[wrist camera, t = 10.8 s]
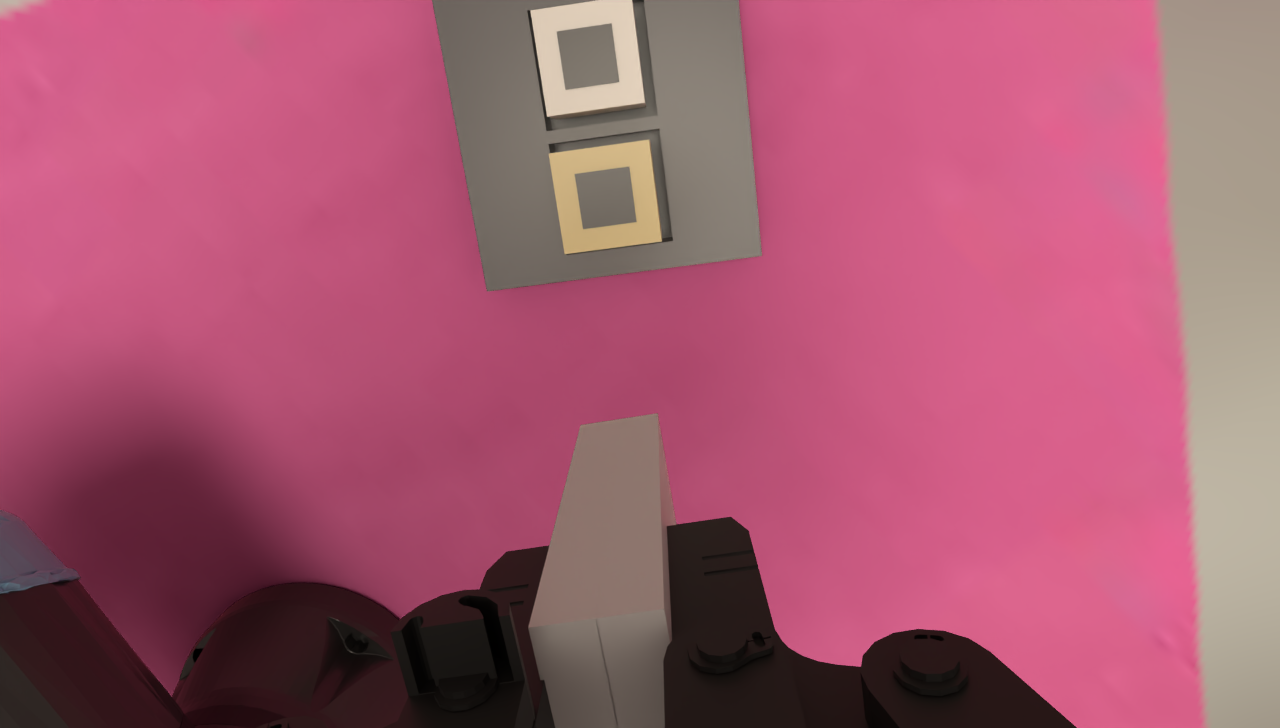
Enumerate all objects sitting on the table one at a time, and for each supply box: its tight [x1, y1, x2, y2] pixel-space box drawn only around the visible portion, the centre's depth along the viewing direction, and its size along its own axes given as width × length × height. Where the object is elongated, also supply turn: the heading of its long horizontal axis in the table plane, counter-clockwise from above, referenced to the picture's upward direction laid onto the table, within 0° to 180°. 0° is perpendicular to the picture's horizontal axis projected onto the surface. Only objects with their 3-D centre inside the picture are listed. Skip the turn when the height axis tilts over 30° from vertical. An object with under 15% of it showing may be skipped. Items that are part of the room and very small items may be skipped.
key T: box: [530, 0, 646, 120], centre depth 35 cm, size 4×4×4 cm
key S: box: [549, 140, 662, 254], centre depth 35 cm, size 4×4×4 cm
